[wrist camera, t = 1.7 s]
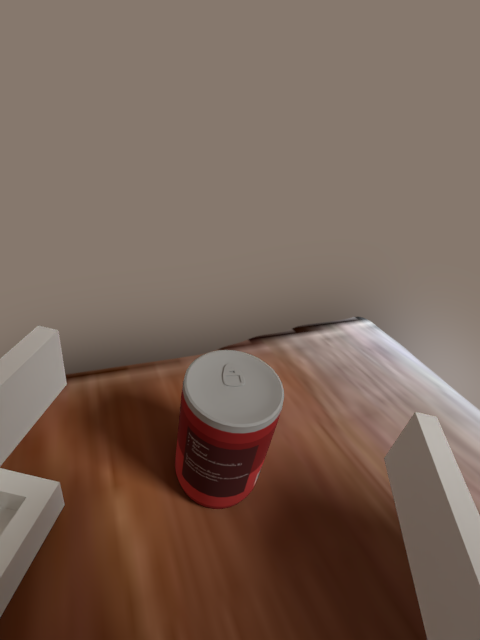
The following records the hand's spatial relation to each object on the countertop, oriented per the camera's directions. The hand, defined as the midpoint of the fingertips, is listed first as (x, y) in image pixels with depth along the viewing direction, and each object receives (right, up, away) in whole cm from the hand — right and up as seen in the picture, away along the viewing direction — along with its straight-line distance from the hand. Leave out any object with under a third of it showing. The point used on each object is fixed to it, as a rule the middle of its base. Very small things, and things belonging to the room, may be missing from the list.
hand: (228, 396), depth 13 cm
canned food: (-2, -11, +19) cm, 22 cm away
